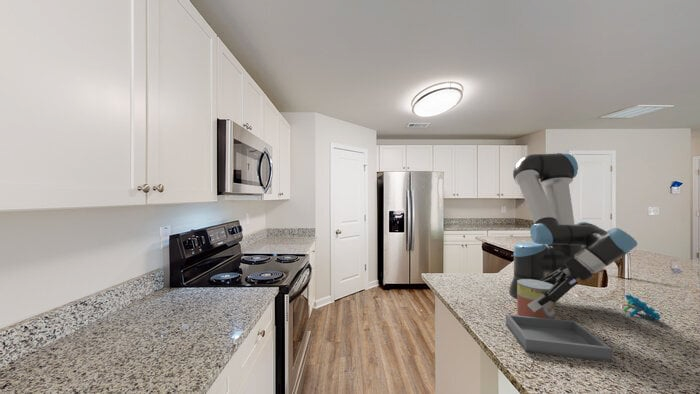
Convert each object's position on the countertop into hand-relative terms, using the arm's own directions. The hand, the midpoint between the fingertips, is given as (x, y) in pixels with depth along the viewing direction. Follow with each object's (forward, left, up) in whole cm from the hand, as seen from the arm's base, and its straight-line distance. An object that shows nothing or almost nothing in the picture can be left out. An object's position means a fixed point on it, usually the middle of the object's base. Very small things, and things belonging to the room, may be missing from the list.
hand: (528, 302), depth 96 cm
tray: (+18, 0, -5) cm, 18 cm away
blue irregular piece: (-10, +40, -5) cm, 41 cm away
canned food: (+1, +2, -5) cm, 5 cm away
